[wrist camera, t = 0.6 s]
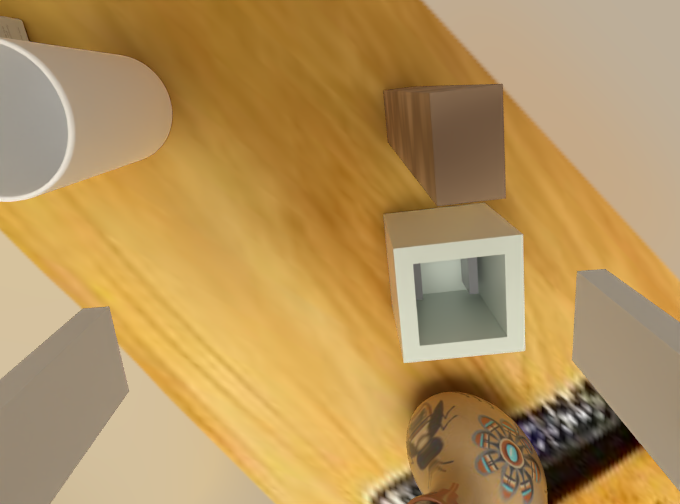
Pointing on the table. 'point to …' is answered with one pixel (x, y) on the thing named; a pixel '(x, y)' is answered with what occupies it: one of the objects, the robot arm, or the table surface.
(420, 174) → the brown wooden plank
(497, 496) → the ceramic vessel
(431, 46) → the table surface
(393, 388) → the table surface
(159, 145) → the cup
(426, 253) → the white square tube
